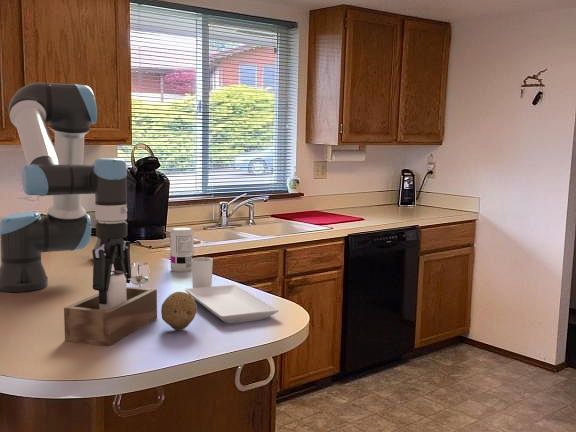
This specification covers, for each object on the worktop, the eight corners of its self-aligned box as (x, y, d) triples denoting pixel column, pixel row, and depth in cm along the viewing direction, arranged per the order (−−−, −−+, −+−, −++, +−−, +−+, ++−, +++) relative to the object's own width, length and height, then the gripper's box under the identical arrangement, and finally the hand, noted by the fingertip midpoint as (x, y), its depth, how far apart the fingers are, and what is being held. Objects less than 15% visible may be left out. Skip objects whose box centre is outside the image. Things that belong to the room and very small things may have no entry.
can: (119, 324, 154) (118, 276, 152) (95, 322, 155) (94, 274, 154) (131, 316, 160) (130, 270, 159) (107, 315, 162) (106, 269, 160)
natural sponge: (195, 336, 153) (195, 296, 152) (158, 336, 153) (158, 296, 151) (197, 325, 162) (197, 287, 161) (162, 325, 162) (162, 287, 160)
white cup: (196, 294, 193) (196, 262, 192) (188, 289, 199) (187, 258, 197) (216, 291, 197) (216, 260, 195) (207, 287, 202) (207, 256, 201)
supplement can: (166, 271, 224) (165, 229, 222) (178, 266, 232) (178, 226, 230) (185, 273, 221) (185, 231, 219) (197, 268, 229) (197, 228, 227)
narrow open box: (64, 340, 149) (63, 307, 148) (117, 314, 171) (116, 285, 170) (109, 346, 145) (108, 312, 144) (157, 318, 167) (156, 289, 166)
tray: (235, 294, 195) (236, 283, 195) (280, 321, 168) (280, 309, 167) (183, 299, 188) (183, 288, 187) (220, 329, 160) (220, 316, 160)
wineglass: (140, 308, 176) (139, 266, 175) (125, 305, 179) (124, 264, 178) (154, 304, 181) (154, 263, 180) (140, 300, 184) (139, 260, 183)
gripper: (102, 227, 144) (104, 324, 147) (144, 217, 163) (145, 303, 166) (74, 225, 146) (77, 321, 149) (119, 215, 165) (120, 301, 168)
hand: (113, 311), depth 158 cm, fingers closed on can, 6 cm apart
